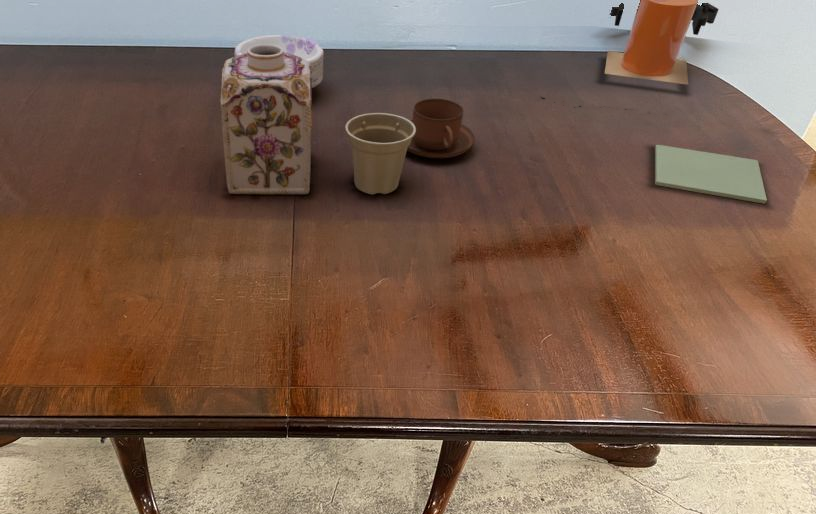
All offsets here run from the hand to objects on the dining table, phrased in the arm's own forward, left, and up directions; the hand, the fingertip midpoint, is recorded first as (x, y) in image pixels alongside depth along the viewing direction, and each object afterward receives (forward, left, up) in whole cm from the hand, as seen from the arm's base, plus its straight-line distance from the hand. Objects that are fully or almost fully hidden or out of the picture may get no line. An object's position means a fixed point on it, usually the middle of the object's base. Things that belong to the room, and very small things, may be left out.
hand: (658, 22), depth 123 cm
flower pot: (+35, +61, -8) cm, 71 cm away
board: (0, +5, -8) cm, 9 cm away
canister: (0, +5, -6) cm, 8 cm away
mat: (-9, +41, -8) cm, 43 cm away
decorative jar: (+50, +64, -8) cm, 82 cm away
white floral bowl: (+60, +37, -8) cm, 71 cm away
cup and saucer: (+30, +47, -8) cm, 56 cm away
